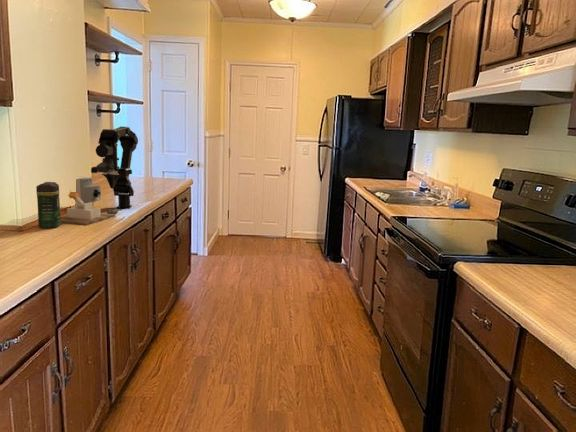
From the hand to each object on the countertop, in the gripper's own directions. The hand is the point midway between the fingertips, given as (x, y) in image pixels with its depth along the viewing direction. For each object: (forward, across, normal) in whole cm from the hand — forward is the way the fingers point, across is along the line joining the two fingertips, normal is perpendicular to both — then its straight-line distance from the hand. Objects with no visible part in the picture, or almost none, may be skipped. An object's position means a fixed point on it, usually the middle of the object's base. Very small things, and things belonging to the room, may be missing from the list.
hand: (112, 188), depth 217 cm
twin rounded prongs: (+12, -3, -3) cm, 13 cm away
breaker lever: (+6, -3, -17) cm, 19 cm away
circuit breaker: (+12, -20, +7) cm, 24 cm away
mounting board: (+12, -3, -17) cm, 21 cm away
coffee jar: (+12, -7, -34) cm, 37 cm away
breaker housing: (+12, -3, -17) cm, 21 cm away
